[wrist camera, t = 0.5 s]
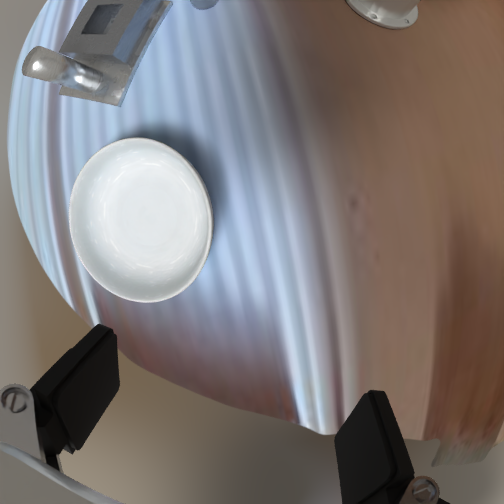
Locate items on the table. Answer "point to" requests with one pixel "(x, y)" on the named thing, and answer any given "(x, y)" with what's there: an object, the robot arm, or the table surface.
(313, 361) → the table surface
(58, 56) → the grey block stand
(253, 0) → the table surface
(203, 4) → the gold and grey cylinder
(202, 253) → the serving bowl
